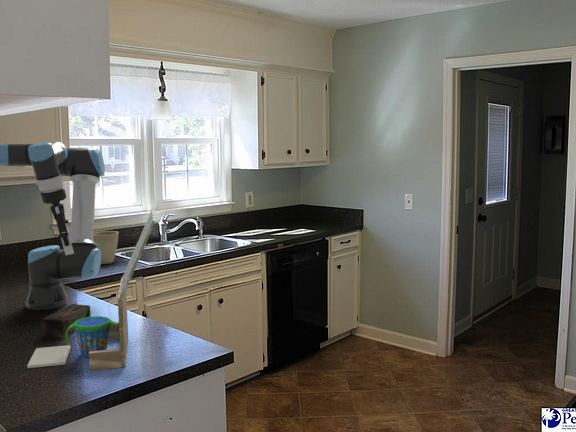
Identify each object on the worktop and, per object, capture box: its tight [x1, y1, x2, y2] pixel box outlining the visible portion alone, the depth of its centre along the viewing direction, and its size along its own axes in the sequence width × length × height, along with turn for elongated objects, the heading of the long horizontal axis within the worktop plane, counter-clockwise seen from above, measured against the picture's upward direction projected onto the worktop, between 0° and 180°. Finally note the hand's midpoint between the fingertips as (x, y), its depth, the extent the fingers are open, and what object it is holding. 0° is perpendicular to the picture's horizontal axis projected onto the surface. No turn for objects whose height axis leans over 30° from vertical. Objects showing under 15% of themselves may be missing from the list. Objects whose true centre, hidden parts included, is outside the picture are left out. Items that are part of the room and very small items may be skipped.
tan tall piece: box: [88, 209, 156, 371], centre depth 170 cm, size 27×20×42 cm
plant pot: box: [93, 230, 119, 265], centre depth 299 cm, size 15×15×16 cm
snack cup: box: [64, 315, 120, 358], centre depth 170 cm, size 16×10×10 cm
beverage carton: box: [41, 303, 92, 338], centre depth 194 cm, size 8×19×7 cm, turn 171°
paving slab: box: [26, 344, 72, 369], centre depth 168 cm, size 14×10×1 cm
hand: (68, 248), depth 193 cm, fingers open, 13 cm apart
